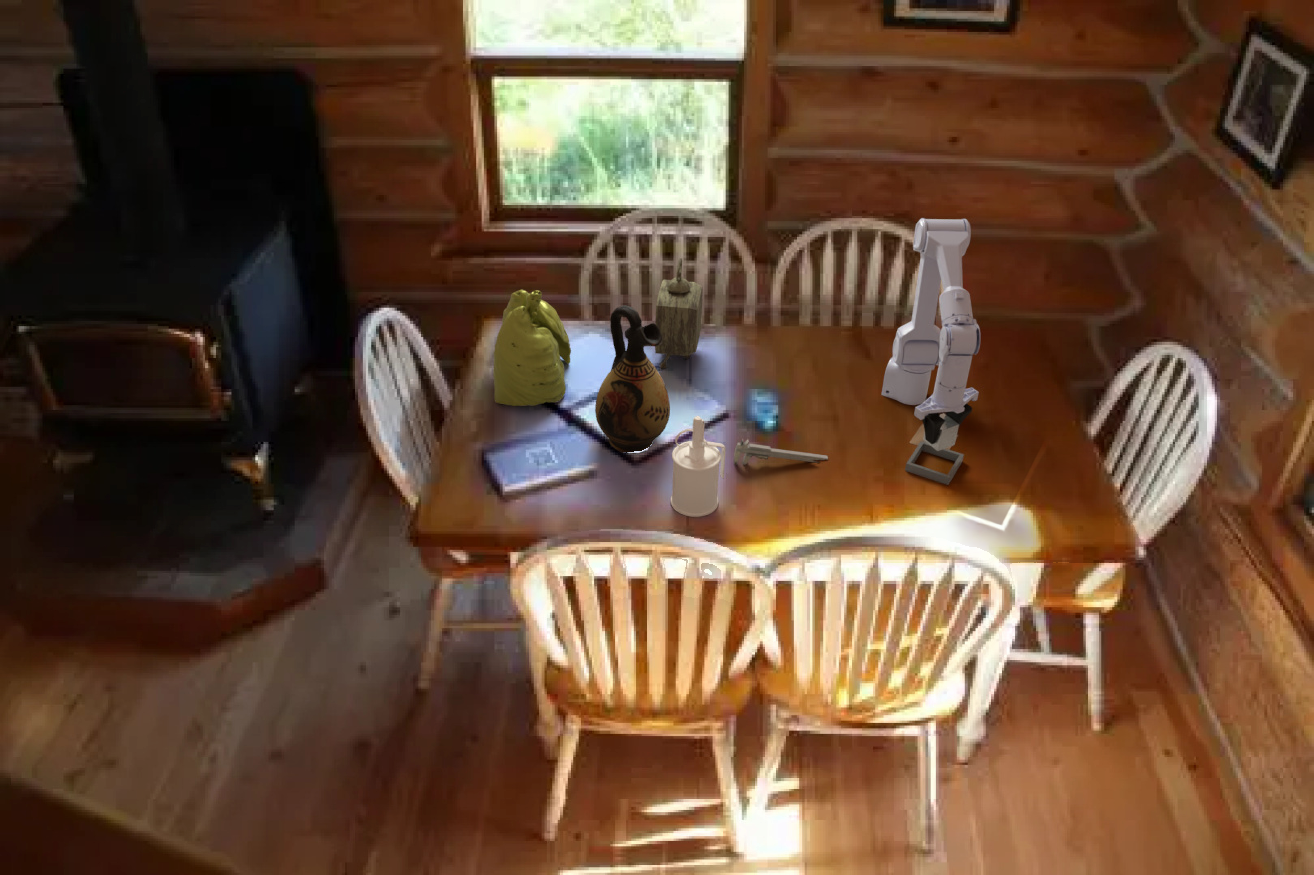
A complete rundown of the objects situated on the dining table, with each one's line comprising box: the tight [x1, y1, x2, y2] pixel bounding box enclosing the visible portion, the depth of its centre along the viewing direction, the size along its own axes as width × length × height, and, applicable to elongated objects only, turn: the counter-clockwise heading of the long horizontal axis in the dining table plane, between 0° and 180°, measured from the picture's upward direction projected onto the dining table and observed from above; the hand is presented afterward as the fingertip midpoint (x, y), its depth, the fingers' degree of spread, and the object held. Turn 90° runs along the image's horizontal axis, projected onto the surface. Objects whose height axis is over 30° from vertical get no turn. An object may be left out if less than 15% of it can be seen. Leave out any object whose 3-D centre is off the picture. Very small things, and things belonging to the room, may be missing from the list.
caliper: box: [733, 438, 829, 466], centre depth 224 cm, size 20×1×6 cm, turn 94°
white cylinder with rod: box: [670, 415, 727, 518], centre depth 210 cm, size 10×9×20 cm
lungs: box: [492, 289, 572, 407], centre depth 241 cm, size 25×16×24 cm, turn 176°
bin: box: [904, 441, 965, 486], centre depth 224 cm, size 9×9×3 cm
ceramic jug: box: [594, 304, 671, 454], centre depth 223 cm, size 17×15×30 cm
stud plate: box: [909, 423, 959, 450], centre depth 232 cm, size 8×8×3 cm
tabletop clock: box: [654, 257, 704, 370], centre depth 251 cm, size 14×9×25 cm, turn 172°
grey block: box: [923, 412, 960, 451], centre depth 220 cm, size 4×4×5 cm
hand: (939, 437), depth 220 cm, fingers closed on grey block, 4 cm apart
